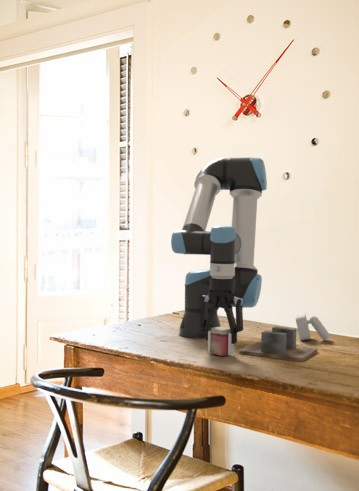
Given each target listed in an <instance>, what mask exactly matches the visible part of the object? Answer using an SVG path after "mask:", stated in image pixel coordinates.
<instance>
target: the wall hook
mask: <svg viewBox="0 0 359 491" xmlns="http://www.w3.org/2000/svg"><path fill="white" fill-rule="evenodd" d="M295 322H296V323H295V324H296V329H297V332H298V337H299V340H300V342H301V341H306V340H307V341H308V340H311V331H310V328H309V325H311V326H312V327H313V329H314V330H315V331H316V333H317V334H318V336H319V337H320V338H321V340H323V341H327V340H328V339H329V338H331V336H332V335H331V333H329V331H328V330H327V329H326V327H325V326H324V324H323V323H322V322H321V321H320V319H319V318H318V317H317V316H315V315H312V316H311V317H309V319H308V318H307V314H306V313H302V314H301V313H300V314H297V315H295Z"/></svg>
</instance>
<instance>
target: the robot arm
mask: <svg viewBox="0 0 359 491" xmlns="http://www.w3.org/2000/svg"><path fill="white" fill-rule="evenodd" d="M267 183H268V181H267V172H266V166H265V162H264V160H263V159H262V158H260V157H219V158H216V159H214V160H212V161H210V162H209V163H207V164H206V165H205V166H203V168H202V169H201V170H200V171H199V172H198V173H197V175H196V178H195V181H194V184H193V186H194V189H195V190H194V192H193V196H192V198H191V201H190V204H189V208H188V211H187V212H186V216H185V220H184V223H183V225H182V229H181V230H180V229H178V230H175V231H173V232H172V234H171V240H170V241H171V242H170V243H171V244H170V245H171V249H172V251H173V253H174V254H177V255H178V254H179V255H180V254H181V255H206V256H207V255H208V256H209V258H210V260H209V261H210V262H209V269H206V268H205V269H198V270H192V271H188V272H187V273H186V275H185V282H184V313H183V317H182V319H181V323H180V326H179V330H178V332H179V334H178V335H179V336H181V337H187V338H193V339H205V341H207V353H211V328H215V327H222V326H221V321H220V318H219V315H218V311H219V309H220V308H221V309H224V312H225V315H226V319H227V321H228V326H229V327H228V328H230V330H231V332H230V333H228V355H227V356H231V355H234V354H235V344H237V342H238V333H240V332H242V331H244V318H243V317H244V315H243V314H244V313H243V309H245V308H248V309H249V308H254V307H255V306H257V304H258V303H259V299H260V294H261V290H262V281H263V280H262V279H263V278H262V275H261V274H260V273H259V274H258V272H259V271H258V268H257V267H256V266H255V265H254V262H255V249H256V248H255V247H256V246H255V245H256V225H257V210H258V200H259V199H260V198H261V197H262V196H263V191H264V192H265V191H266V190H267V189H268V188H267V187H268V184H267ZM223 190H225V191H228V190H229V195H230V196H231V197H232V198H233V201H232V213H231V214H232V217H231V226H230V225H228V226H226V225H221V226H219V225H217V226H216V225H215V226H212V227H211V229H210V230H209V231H207V230H206V229H207V227H208V222H209V220H210V217H211V213H212V209H213V207H214V203H215V200H216V196H217V195H219V193H220V192H221V191H223ZM233 308H235V315H234V310H233Z"/></svg>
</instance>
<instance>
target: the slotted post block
mask: <svg viewBox="0 0 359 491" xmlns="http://www.w3.org/2000/svg"><path fill="white" fill-rule="evenodd" d="M260 336H261V337H260V338H261V340H260V341H257V342H255V343H253V344H250V345H248V346H246V347H244V348H242V349H241V348H240V349H239V350H238V353H239V355H247V356H254V357H255V356H256V357H262V358H271V359H279V360H287V361H295V362H301V363H302V362H304V361H305V360H308V359H309V358H310V357H312V356H314V355H315V354H317V353H318V348H316V347H315V348H314V347H306V346H305V347H304V346H297V328H293V327H284V326H282V327H281V326H273V327H271V331H269V330H264V331H262V332H261V335H260Z"/></svg>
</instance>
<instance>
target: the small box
mask: <svg viewBox="0 0 359 491" xmlns="http://www.w3.org/2000/svg"><path fill="white" fill-rule="evenodd" d="M230 332H231V330H230V327H224V326H221V327H215V328H211V352H210V353H211V354H213V355H217V356H221V357H222V356H223V357H224V356H229V355H228V333H230Z"/></svg>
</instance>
